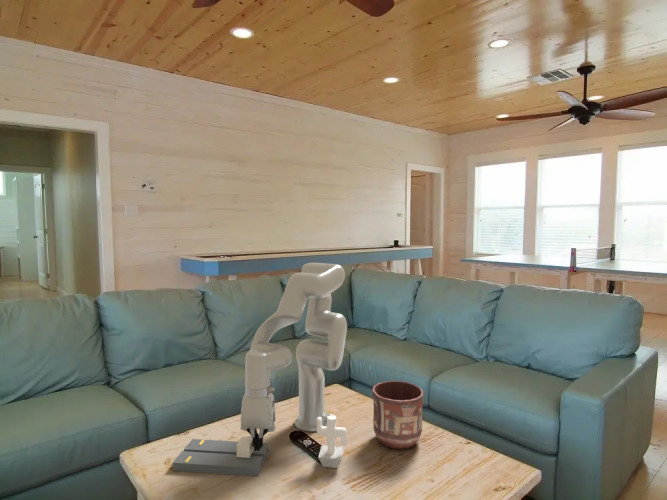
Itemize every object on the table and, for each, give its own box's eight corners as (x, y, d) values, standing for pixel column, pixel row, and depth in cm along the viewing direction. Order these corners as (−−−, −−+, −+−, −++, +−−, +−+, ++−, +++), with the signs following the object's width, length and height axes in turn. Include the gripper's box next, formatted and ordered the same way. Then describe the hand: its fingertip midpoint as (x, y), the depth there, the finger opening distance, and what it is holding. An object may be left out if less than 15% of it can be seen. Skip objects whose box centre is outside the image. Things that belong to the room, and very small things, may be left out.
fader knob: (254, 452, 133) (254, 436, 132) (249, 461, 128) (249, 445, 127) (241, 451, 133) (241, 436, 133) (236, 460, 128) (236, 444, 128)
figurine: (345, 471, 126) (345, 423, 125) (314, 468, 127) (314, 420, 126) (347, 458, 133) (348, 412, 132) (318, 455, 134) (318, 410, 133)
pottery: (360, 439, 145) (361, 388, 144) (394, 423, 156) (394, 376, 155) (400, 461, 131) (401, 405, 130) (433, 442, 143) (434, 391, 142)
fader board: (269, 450, 137) (269, 442, 137) (257, 476, 123) (257, 467, 123) (192, 446, 139) (192, 438, 139) (172, 470, 125) (172, 461, 125)
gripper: (284, 387, 132) (284, 443, 133) (237, 385, 133) (238, 441, 134) (279, 396, 124) (279, 456, 125) (230, 394, 126) (230, 453, 127)
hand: (257, 448), depth 130 cm, fingers closed
